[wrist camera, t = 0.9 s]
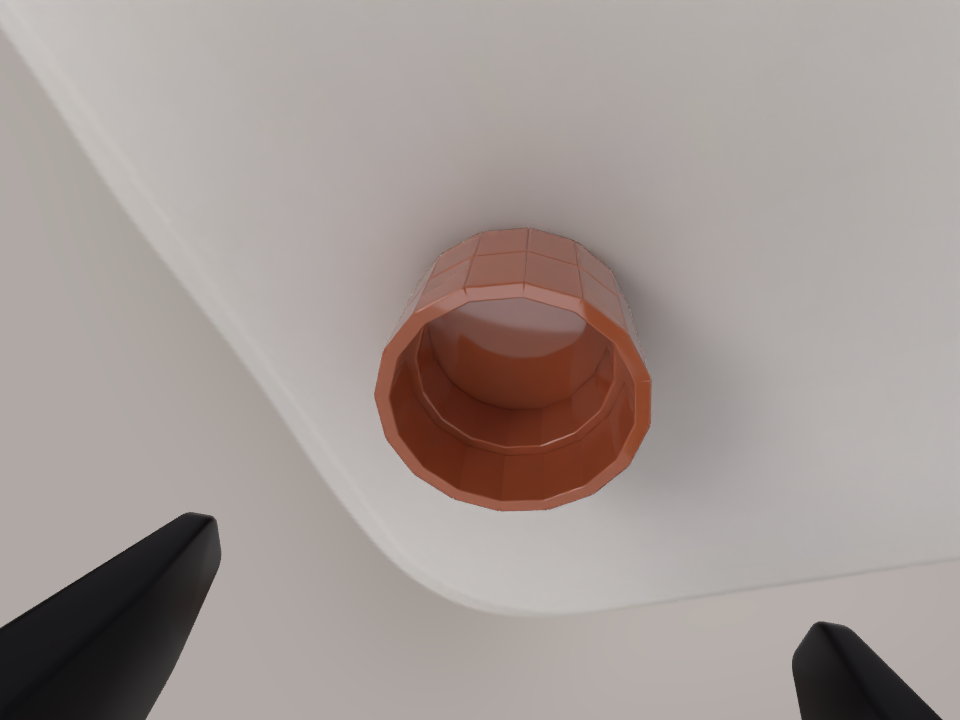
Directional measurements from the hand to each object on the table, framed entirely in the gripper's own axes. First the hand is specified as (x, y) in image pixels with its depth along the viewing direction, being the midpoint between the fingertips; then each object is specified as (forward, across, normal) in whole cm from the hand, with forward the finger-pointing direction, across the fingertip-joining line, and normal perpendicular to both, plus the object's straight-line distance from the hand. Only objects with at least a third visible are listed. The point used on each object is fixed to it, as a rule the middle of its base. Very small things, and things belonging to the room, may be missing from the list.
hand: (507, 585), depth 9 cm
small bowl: (+10, 0, +1) cm, 11 cm away
